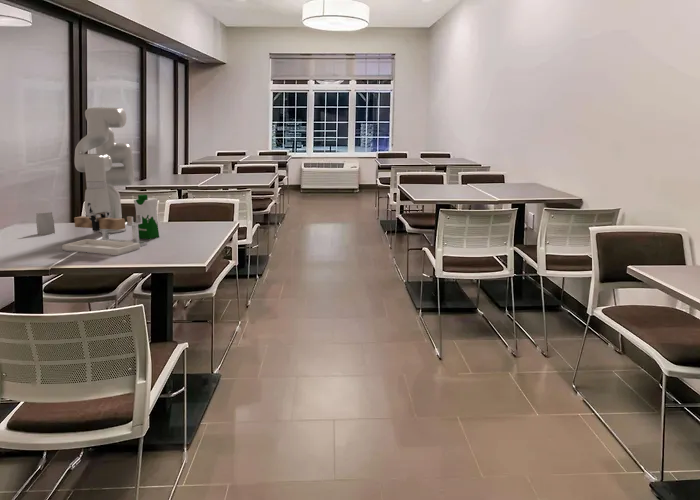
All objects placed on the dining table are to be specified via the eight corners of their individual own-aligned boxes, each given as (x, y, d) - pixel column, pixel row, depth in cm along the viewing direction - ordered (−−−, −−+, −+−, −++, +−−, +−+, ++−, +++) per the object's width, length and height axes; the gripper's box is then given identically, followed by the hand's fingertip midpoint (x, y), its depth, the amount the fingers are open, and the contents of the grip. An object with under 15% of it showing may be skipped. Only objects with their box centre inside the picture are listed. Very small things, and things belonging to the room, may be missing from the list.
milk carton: (134, 238, 276) (131, 195, 272) (146, 235, 284) (144, 193, 280) (150, 239, 273) (147, 195, 269) (162, 236, 281) (159, 193, 277)
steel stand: (94, 244, 263) (92, 214, 260) (105, 241, 269) (103, 212, 267) (137, 247, 256) (134, 217, 253) (147, 244, 263) (145, 214, 260)
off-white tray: (63, 250, 249) (62, 244, 249) (86, 244, 262) (86, 239, 262) (118, 255, 241) (117, 249, 240) (140, 248, 254) (139, 243, 253)
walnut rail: (75, 227, 251) (74, 217, 250) (82, 225, 255) (81, 216, 254) (118, 229, 244) (118, 219, 243) (125, 228, 248) (124, 218, 247)
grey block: (55, 233, 289) (53, 212, 287) (39, 235, 284) (37, 214, 282) (52, 232, 291) (50, 211, 289) (37, 233, 287) (35, 213, 285)
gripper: (103, 183, 255) (106, 226, 259) (73, 187, 239) (77, 232, 243) (117, 184, 253) (121, 227, 256) (89, 187, 237) (93, 233, 241)
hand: (100, 229), depth 250 cm, fingers closed on walnut rail, 4 cm apart
